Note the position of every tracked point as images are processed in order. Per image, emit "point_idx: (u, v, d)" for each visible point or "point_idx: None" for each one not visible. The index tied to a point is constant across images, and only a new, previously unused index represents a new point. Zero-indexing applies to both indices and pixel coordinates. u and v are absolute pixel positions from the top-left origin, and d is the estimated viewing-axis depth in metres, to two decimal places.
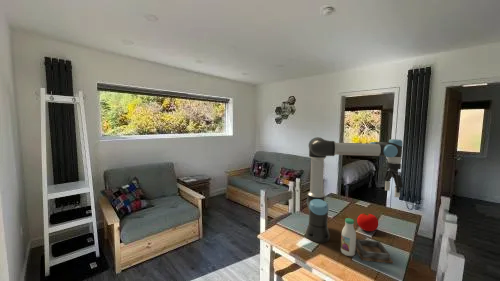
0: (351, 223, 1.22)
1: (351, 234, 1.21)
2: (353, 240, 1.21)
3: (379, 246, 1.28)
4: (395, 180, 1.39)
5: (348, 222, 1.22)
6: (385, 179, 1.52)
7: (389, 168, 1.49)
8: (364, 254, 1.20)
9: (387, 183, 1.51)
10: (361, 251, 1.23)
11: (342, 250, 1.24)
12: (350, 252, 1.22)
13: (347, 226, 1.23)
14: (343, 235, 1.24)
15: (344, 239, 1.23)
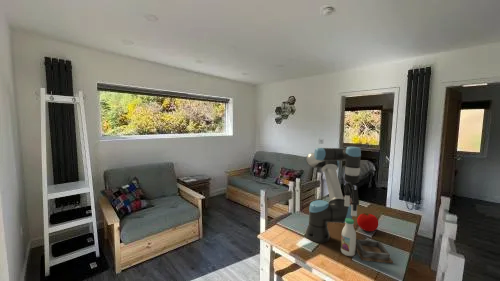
0: (351, 223, 1.22)
1: (351, 234, 1.21)
2: (353, 240, 1.21)
3: (379, 246, 1.28)
4: (352, 196, 1.17)
5: (348, 222, 1.22)
6: None
7: None
8: (364, 254, 1.20)
9: (346, 198, 1.29)
10: (361, 251, 1.23)
11: (342, 250, 1.24)
12: (350, 252, 1.22)
13: (347, 226, 1.23)
14: (343, 235, 1.24)
15: (344, 239, 1.23)
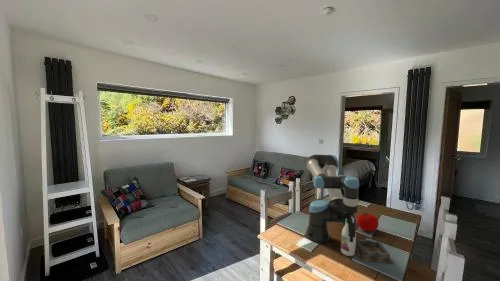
0: None
1: None
2: None
3: (379, 246, 1.28)
4: (349, 227, 1.20)
5: None
6: (344, 225, 1.30)
7: None
8: (364, 254, 1.20)
9: None
10: (361, 251, 1.23)
11: (342, 250, 1.24)
12: (350, 252, 1.22)
13: (347, 226, 1.23)
14: (343, 235, 1.24)
15: (344, 239, 1.23)
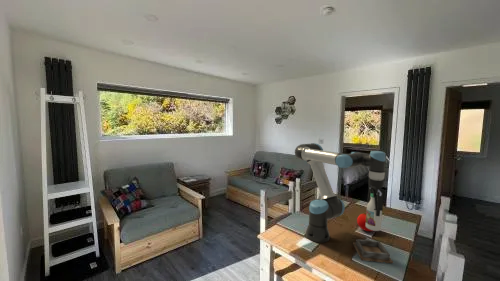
0: None
1: None
2: None
3: (379, 246, 1.28)
4: (375, 201, 1.19)
5: None
6: None
7: (371, 185, 1.27)
8: (364, 254, 1.20)
9: None
10: (361, 251, 1.23)
11: (367, 225, 1.23)
12: (376, 227, 1.20)
13: (373, 201, 1.21)
14: (369, 210, 1.22)
15: (370, 214, 1.21)
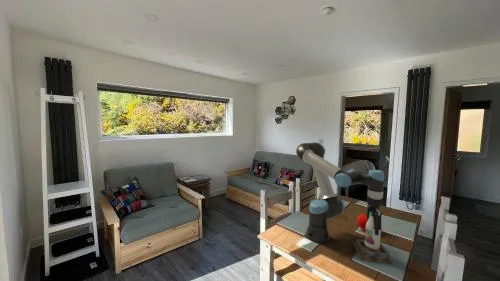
0: None
1: None
2: None
3: None
4: (374, 220, 1.20)
5: None
6: (367, 219, 1.29)
7: (370, 203, 1.28)
8: (364, 254, 1.20)
9: None
10: (361, 251, 1.23)
11: (366, 243, 1.24)
12: (375, 245, 1.21)
13: (372, 219, 1.22)
14: (368, 228, 1.23)
15: (369, 233, 1.22)
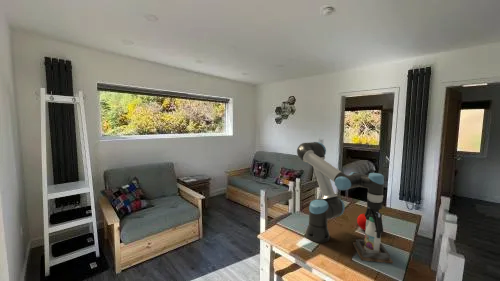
0: None
1: None
2: None
3: None
4: (375, 223, 1.18)
5: (373, 221, 1.22)
6: (366, 217, 1.32)
7: None
8: (364, 254, 1.20)
9: (368, 222, 1.30)
10: (361, 251, 1.23)
11: (366, 249, 1.24)
12: (374, 251, 1.21)
13: (371, 225, 1.23)
14: (367, 234, 1.23)
15: (369, 238, 1.22)
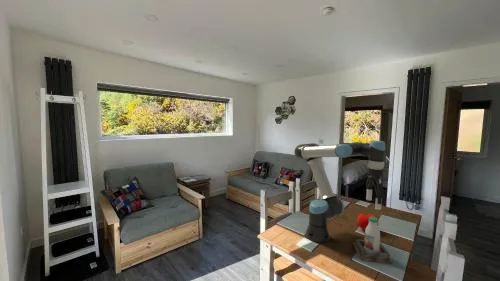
0: (375, 222, 1.22)
1: (375, 233, 1.21)
2: (377, 239, 1.21)
3: None
4: (376, 189, 1.17)
5: (372, 221, 1.22)
6: None
7: (371, 174, 1.27)
8: (364, 254, 1.20)
9: (369, 192, 1.30)
10: (361, 251, 1.23)
11: (366, 249, 1.24)
12: (374, 251, 1.21)
13: (371, 225, 1.23)
14: (367, 234, 1.23)
15: (369, 238, 1.23)
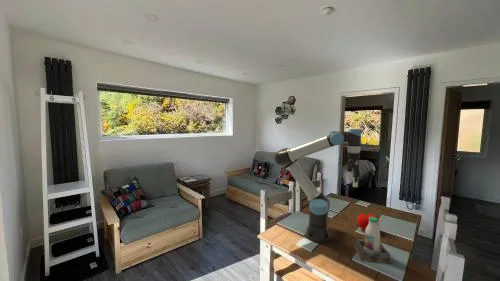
0: (375, 222, 1.21)
1: (375, 233, 1.21)
2: (377, 239, 1.21)
3: None
4: (353, 170, 1.38)
5: (372, 221, 1.22)
6: (347, 169, 1.51)
7: (350, 158, 1.47)
8: (364, 254, 1.20)
9: (349, 173, 1.50)
10: (361, 251, 1.23)
11: (366, 249, 1.24)
12: (374, 251, 1.21)
13: (371, 225, 1.23)
14: (367, 234, 1.23)
15: (369, 238, 1.23)
